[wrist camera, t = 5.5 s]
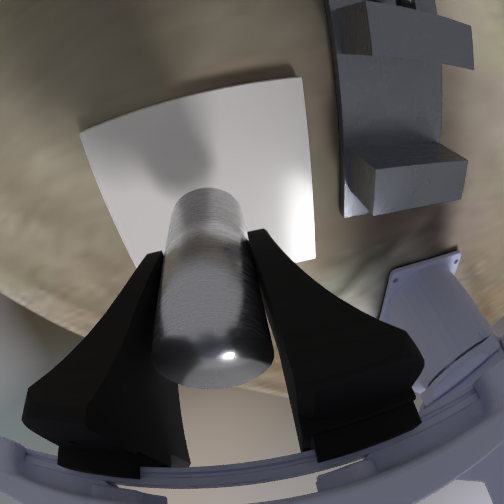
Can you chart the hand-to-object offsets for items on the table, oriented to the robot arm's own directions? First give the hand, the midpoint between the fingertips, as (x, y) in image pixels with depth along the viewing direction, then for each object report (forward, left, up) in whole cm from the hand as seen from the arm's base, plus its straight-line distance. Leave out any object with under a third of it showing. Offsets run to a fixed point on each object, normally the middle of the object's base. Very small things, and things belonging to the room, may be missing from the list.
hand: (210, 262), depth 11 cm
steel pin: (0, 0, -2) cm, 3 cm away
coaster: (0, 0, -6) cm, 6 cm away
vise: (+5, -11, -6) cm, 13 cm away
